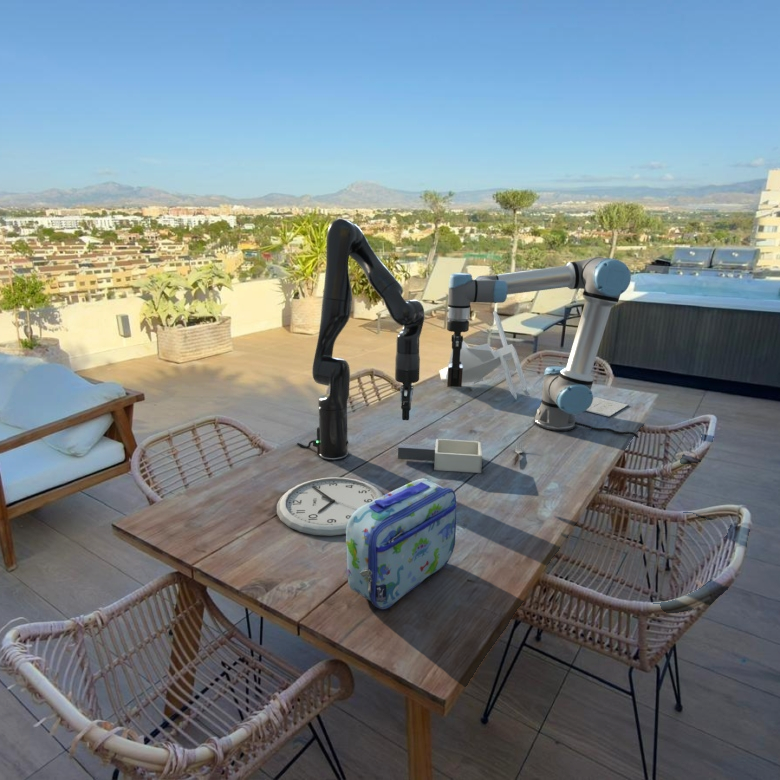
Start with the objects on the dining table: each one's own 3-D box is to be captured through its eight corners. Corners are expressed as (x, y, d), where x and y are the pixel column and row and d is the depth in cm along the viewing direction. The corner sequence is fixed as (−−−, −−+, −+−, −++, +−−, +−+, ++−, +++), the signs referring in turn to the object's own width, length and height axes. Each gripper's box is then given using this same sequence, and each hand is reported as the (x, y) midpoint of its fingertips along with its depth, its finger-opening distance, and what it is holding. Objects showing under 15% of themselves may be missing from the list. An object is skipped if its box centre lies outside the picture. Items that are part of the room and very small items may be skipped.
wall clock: (392, 527, 129) (268, 531, 127) (391, 533, 130) (269, 537, 127) (383, 473, 158) (282, 475, 155) (383, 478, 158) (282, 480, 156)
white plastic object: (461, 429, 252) (437, 405, 227) (444, 352, 274) (420, 323, 250) (535, 404, 240) (518, 377, 215) (510, 326, 262) (492, 293, 237)
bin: (479, 457, 174) (480, 441, 173) (481, 473, 163) (482, 456, 161) (400, 452, 177) (400, 436, 175) (396, 467, 166) (396, 450, 164)
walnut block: (461, 383, 189) (462, 364, 187) (461, 387, 184) (462, 368, 182) (447, 382, 189) (448, 363, 187) (447, 386, 185) (448, 367, 182)
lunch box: (375, 622, 100) (376, 527, 94) (339, 595, 108) (338, 505, 101) (459, 565, 118) (465, 481, 112) (424, 545, 125) (427, 465, 119)
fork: (510, 465, 168) (510, 460, 168) (516, 447, 182) (517, 442, 182) (518, 467, 167) (519, 461, 167) (524, 448, 182) (524, 443, 181)
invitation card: (608, 416, 214) (573, 407, 224) (608, 416, 214) (573, 408, 224) (628, 404, 229) (594, 396, 238) (628, 405, 229) (594, 397, 238)
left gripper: (397, 359, 168) (396, 407, 173) (393, 371, 155) (392, 422, 160) (420, 360, 168) (419, 407, 173) (418, 372, 154) (417, 423, 159)
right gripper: (447, 314, 189) (444, 376, 196) (446, 323, 171) (443, 391, 178) (468, 315, 188) (464, 377, 195) (469, 324, 171) (465, 392, 178)
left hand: (406, 414), depth 166 cm, fingers open, 8 cm apart
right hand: (454, 384), depth 187 cm, fingers closed on walnut block, 5 cm apart
